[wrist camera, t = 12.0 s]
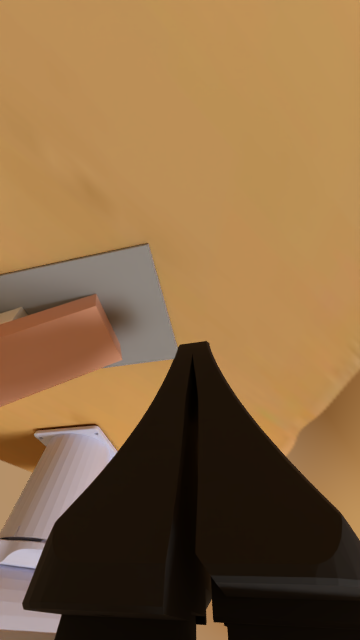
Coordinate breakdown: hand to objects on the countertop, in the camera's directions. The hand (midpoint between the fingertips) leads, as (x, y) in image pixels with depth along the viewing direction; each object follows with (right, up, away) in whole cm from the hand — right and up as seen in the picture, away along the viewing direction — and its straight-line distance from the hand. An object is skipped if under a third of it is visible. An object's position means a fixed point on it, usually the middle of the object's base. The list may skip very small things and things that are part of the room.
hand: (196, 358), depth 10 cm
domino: (-6, +1, +4) cm, 7 cm away
